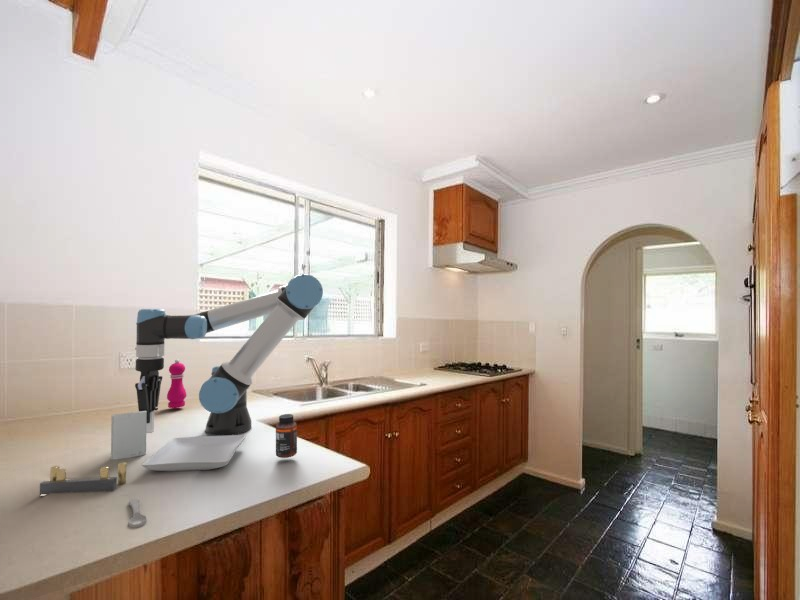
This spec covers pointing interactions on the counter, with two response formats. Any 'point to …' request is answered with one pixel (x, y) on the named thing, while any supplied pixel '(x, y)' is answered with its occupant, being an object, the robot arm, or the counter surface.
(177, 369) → the pepper mill
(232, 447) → the salad plate
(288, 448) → the supplement bottle
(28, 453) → the counter surface
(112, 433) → the external hard drive
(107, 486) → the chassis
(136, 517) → the spoon
